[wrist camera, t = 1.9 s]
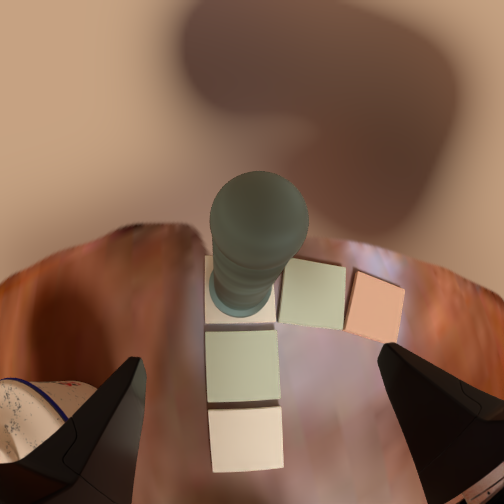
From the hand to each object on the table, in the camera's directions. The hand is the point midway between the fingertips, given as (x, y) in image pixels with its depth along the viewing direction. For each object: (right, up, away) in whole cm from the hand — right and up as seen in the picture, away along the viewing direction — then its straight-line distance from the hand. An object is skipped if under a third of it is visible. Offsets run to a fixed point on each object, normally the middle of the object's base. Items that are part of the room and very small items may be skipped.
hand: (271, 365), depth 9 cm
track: (+1, -3, +12) cm, 13 cm away
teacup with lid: (-16, -12, +7) cm, 21 cm away
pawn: (-2, +1, +13) cm, 13 cm away
